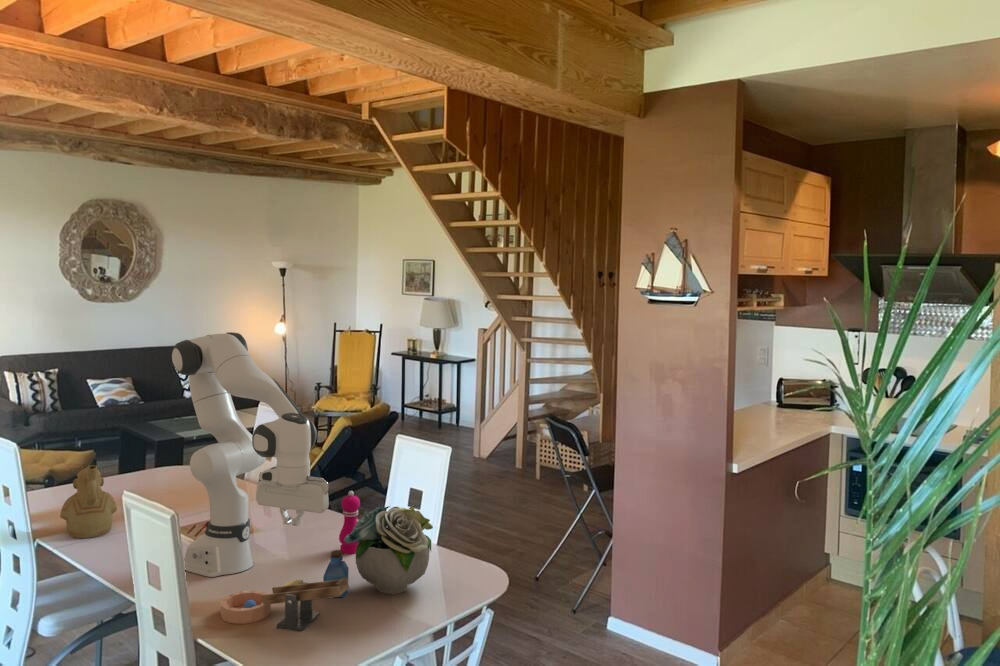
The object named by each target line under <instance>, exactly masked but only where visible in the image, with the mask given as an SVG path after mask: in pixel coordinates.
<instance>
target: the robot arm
mask: <svg viewBox="0 0 1000 666" xmlns="http://www.w3.org/2000/svg"><path fill="white" fill-rule="evenodd" d="M248 347H249V346H248V343H247V340H246V338H245V337H243V335H242V334H241V333H239V332H232V331H231V332H226V333H214V334H206V335H203V336H200V337H195V338H192V339H191V338H190V339H184V340H181V341H179V342H177V343H176V344H175V345H174V346H173V348H172V349H171V350H172V351H171V360H172V361H171V362H172V364H173V367H174V369H175V370H176V372H177V373H179V374H180V375H183V376H188V381H189V385H188V386H189V391H190V395H191V401H192V404H193V408H194V410H195V411H194V412H195V414H196V419H197V421H198V425H199V427H200V428H201V430H203V431H204V432H206V433H208V434H211V435H212V436H213V437H214V438H215V439H216V441H217V443H212V444H209V445H206V446H204V447H202V448H200V449H198V450H196V451H194V453H193V454H192V455H191V457H190V461H189V469H190V472H191V474H192V476H193V477H194V478H195V479H196V480H197V481H198V482H200V483H201V484H203V486H204V488H205V490H206V491H207V495H208V498H209V515H210V516H209V521H207V522H206V523H204V524H202V525H201V526H202V527H201V529H202V530H203V529H205V530H204V533H203V534H201V535H200V536H198V537H197V538H196V539H195V540H194V541H192V542H191V543H189V545H188V546H187V548H186V551H185V555H184V561H185V568H186V571H185V572H190V573H194V574H196V575H200V576H201V575H202V576H205V577H208V578H215V577H218V576H222V575H223V576H224V575H232V574H237V573H240V572H245V571H247V570H248V569H250V568H251V567H253V566H254V560H253V557H252V551H251V545H250V532H251V524H250V523H251V522H250V521H251V520H250V518H249V495H248V493H247V492H246V491H245V490H243V488H239V487H238V484H237V483H238V482H237V476H240V475H243V474H247V473H250V472H252V471H254V470H256V469H258V468H259V467H261V466H262V465H263V464H264V463H265V461H266V459H268V458H275V459H276V466H273V467H269V468H266V469H264V470H262V471H260V472H259V473H258V479H259V480H260V481H258V483H257V485H256V492H255V501H256V503H257V504H258V505H259V506H265V507H272V508H279V513H280V515H281V517H282V520H283V522H282V523H283V525H287V526H288V525H291V526H296V527H298V526H300V525H301V518H302V517H303V515H304V514H305V512H309V513H314V514H315V513H317V514H322V513H325V511H327V510H328V508H329V505H330V500H329V482H328V481H326V480H325V479H324V478H323V477H316V476H311V459H310V451H311V450H312V448H313V447H314V446H315V444H316V442H317V437H318V432H317V428H316V426H315V424H314V423H313V421H312V420H311V419H310V418H308V416H307V415H305V414H304V412H302V410H300V408H299V407H298V406H297V405H296V404H295V402H294V401H293V399H292V398H291V397H290V396H289V395H288V393H287V392H286V391H285V389H284V388H283V387H282V386H281V384H280V383H279V382H278V381H277V380H276V379H274V378H273V377H271V376H270V375H268V374H267V373H266V372H265V371H263V370H262V369H261V368H260V367H259V365H257V363H256V362H255V360H254V358H253V357H252V356H251V354H250V352H249V350H248V349H249V348H248ZM232 396H234V397H238V398H243V399H250V400H254V401H259V402H261V403H264V404H266V405H268V406H269V407H270V408H271V409H272V410H273V412H274V413H275V415H276V416H277V417H278V418H277V419H275V420H273V421H268V422H264V423H261V424H259V425H257V427H256V428H255V429H254V430H253V433H251V432H250V431H249V430H248V429H247V428H246V426H245V425H244V424H243V423H242V421H241V419H240V417H239V415H238V413H237V410H236V408H235V404H234V402H233V398H232ZM289 510H291V511H292V510H293V511H295V514H296V516H295V517H294V518H293V517H292V516H289V515H290V514H289V512H288V511H289Z"/></svg>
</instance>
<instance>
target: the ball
mask: <svg viewBox="0 0 1000 666" xmlns="http://www.w3.org/2000/svg"><path fill="white" fill-rule="evenodd" d="M254 606H256V602H255V601H253V600H248V601H246V602H245V603H244V608H251V607H254Z"/></svg>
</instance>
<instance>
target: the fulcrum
mask: <svg viewBox="0 0 1000 666" xmlns="http://www.w3.org/2000/svg"><path fill="white" fill-rule="evenodd" d="M306 583H307V582H304V581H303V582H302V583H301V584H306ZM284 605H285V606H284V607H285V609H284V618H283V619H282V620H280V622H278V623H277V624H276V629H281V630H288V631H293V632H294V631H295V632H300V633H301V632H303V631H304V630H305V629H307V627H309V626H310V625H311V624H312V623H313V622H314V621H315V620H317V619H318V618H319V617H320V616H321V612H320V611H314V610H313V599H311V600H302V601H298V595H295V594H288V593H287V594H286V595H285V602H284Z"/></svg>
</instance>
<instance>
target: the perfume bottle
mask: <svg viewBox="0 0 1000 666" xmlns="http://www.w3.org/2000/svg"><path fill="white" fill-rule="evenodd" d="M330 554H331V555H330V556H329V557H330V558H329V560H330V561H329V563H328V564H327V567H326V569H325V571H324V574H323V581H322V582H324V581H332V580H341V579H342V578H344V577H346V579H348V580H349V567H348V564H347V563H346V561H345V560H343V555H342V554H343V553H342V551H340V549H336V550H335V549H334V550H332V551H331V552H330ZM348 591H349V588H348V589H347V590H346V591H345V592H344V593H343V594H342V595H340V596H339V597H346V598H347V595H348ZM346 594H347V595H346Z"/></svg>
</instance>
